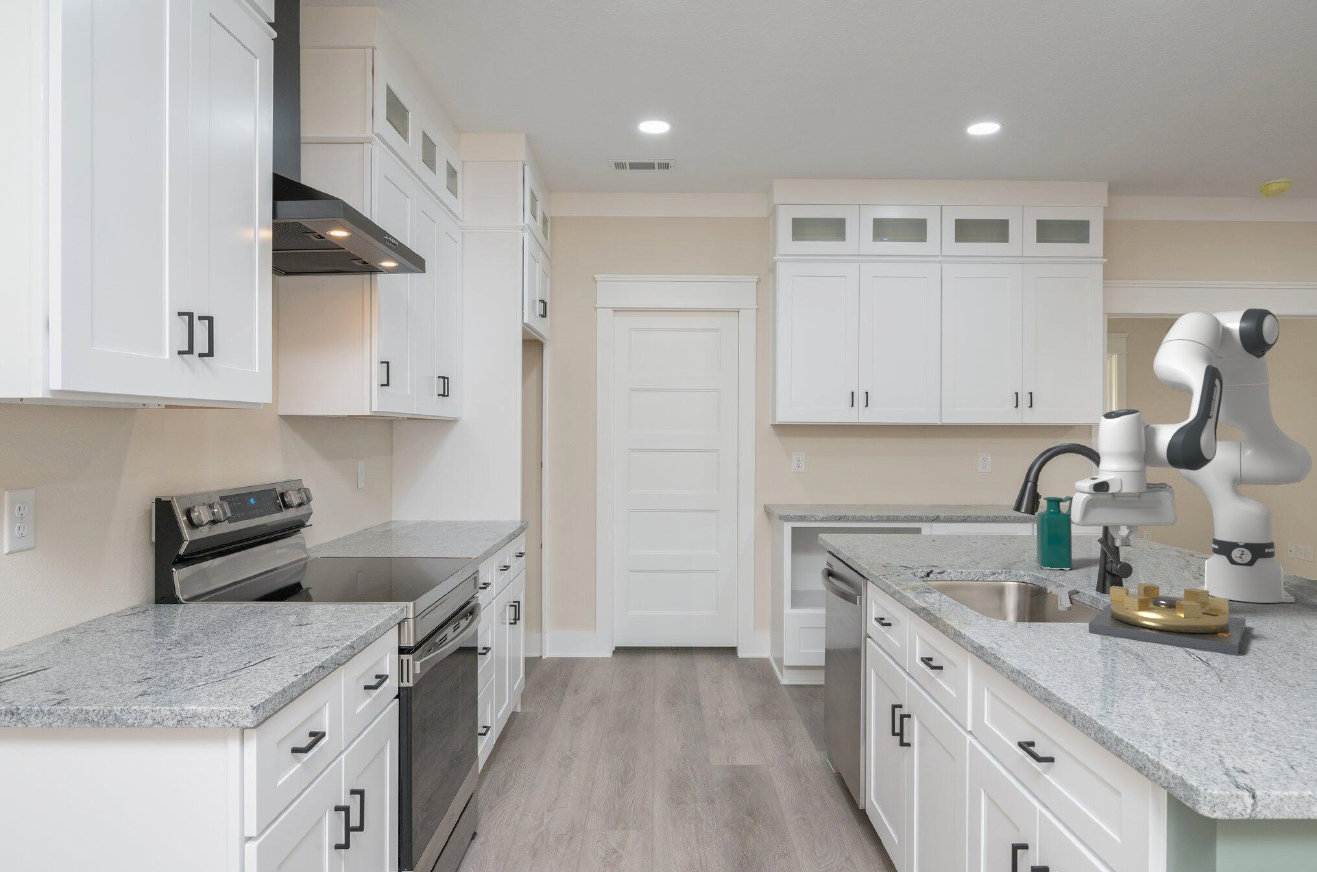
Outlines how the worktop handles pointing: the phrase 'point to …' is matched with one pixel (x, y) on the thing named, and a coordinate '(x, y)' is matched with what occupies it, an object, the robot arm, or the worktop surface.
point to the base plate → (1172, 634)
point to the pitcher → (1054, 534)
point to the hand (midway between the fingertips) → (1123, 546)
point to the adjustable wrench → (1063, 596)
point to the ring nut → (1170, 609)
